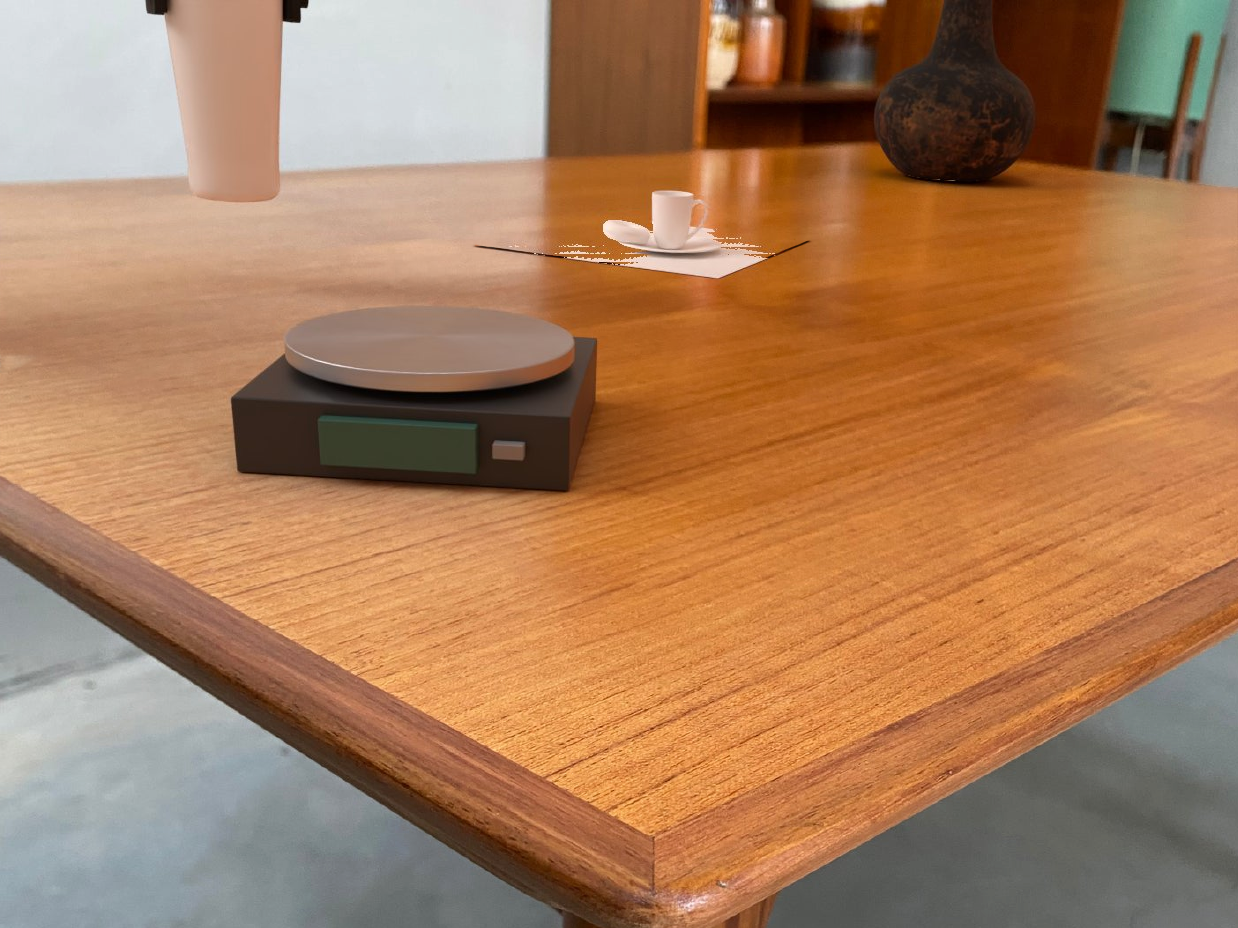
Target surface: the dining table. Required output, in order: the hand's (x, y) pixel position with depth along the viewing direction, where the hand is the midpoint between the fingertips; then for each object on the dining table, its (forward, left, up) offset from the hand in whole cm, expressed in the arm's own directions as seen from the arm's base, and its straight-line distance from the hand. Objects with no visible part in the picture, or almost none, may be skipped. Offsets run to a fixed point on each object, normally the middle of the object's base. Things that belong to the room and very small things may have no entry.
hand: (224, 15), depth 77 cm
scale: (+17, -29, -15) cm, 37 cm away
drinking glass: (0, 0, -10) cm, 10 cm away
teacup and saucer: (+24, +23, -16) cm, 37 cm away
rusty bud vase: (+56, +79, -16) cm, 99 cm away
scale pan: (+17, -29, -12) cm, 36 cm away
